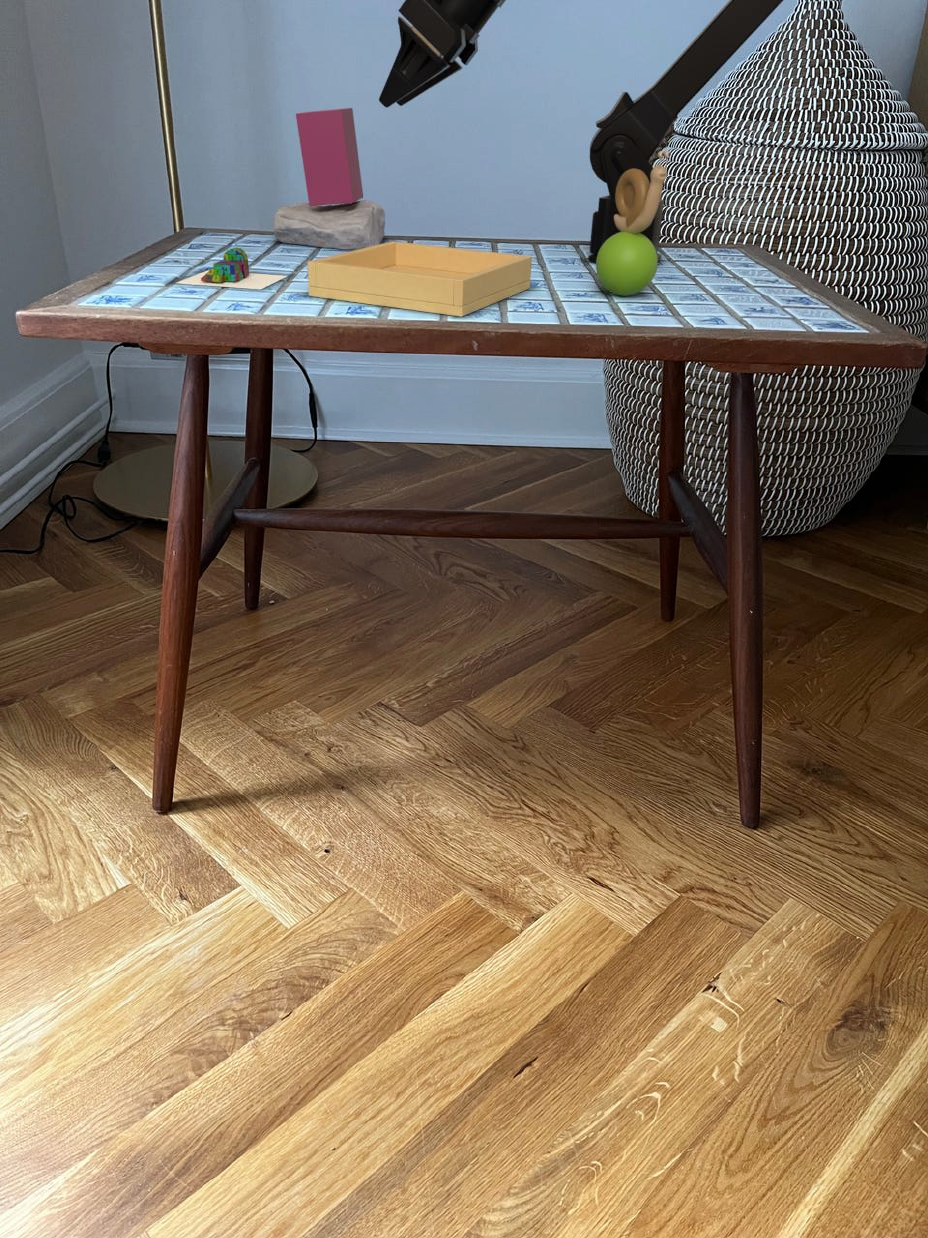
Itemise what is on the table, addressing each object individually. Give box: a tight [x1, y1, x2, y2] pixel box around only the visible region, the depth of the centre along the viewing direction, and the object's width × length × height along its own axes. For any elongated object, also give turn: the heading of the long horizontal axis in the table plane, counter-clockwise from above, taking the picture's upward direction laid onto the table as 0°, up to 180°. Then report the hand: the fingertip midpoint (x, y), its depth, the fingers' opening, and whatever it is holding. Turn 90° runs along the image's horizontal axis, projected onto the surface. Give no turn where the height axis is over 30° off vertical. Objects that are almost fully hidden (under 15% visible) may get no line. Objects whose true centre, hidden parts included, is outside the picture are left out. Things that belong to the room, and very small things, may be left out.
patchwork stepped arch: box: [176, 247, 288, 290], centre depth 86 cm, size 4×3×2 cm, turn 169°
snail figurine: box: [595, 150, 672, 297], centre depth 83 cm, size 5×6×12 cm
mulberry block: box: [295, 107, 364, 206], centre depth 104 cm, size 5×5×9 cm
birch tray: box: [307, 240, 533, 318], centre depth 84 cm, size 15×15×3 cm
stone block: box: [273, 200, 386, 251], centre depth 107 cm, size 12×5×10 cm
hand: (390, 103), depth 98 cm, fingers open, 9 cm apart
